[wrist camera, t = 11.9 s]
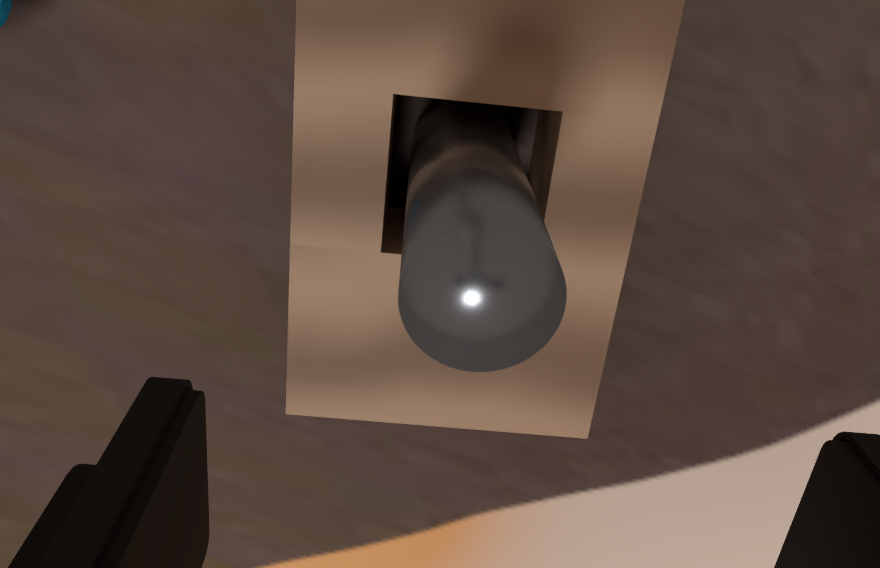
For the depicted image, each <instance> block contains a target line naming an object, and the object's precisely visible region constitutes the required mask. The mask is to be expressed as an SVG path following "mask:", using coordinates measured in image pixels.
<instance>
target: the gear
mask: <svg viewBox="0 0 880 568" xmlns="http://www.w3.org/2000/svg"><path fill="white" fill-rule="evenodd" d="M11 6H12V0H0V27H1V26H2V25H3V24H4V23H5V21H6V19H7V18H8V15H9V13H10V10H11Z"/></svg>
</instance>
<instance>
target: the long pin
mask: <svg viewBox="0 0 880 568" xmlns="http://www.w3.org/2000/svg"><path fill="white" fill-rule="evenodd" d="M566 299H567V287H566V281H565V276H564V273H563V270H562V267H561V265H560V262H559V260H558V257H557V254H556V252H555V249H554V246H553V244H552V241H551V238H550V236H549V233H548V231H547V228H546V225H545V223H544V220H543V217H542V215H541V212H540V210H539V207H538V204H537V202H536V199H535V196H534V194H533V191H532V188H531V186H530V183H529V181H528V178H527V175H526V173H525V170H524V167H523V165H522V162H521V160H520V157H519V154H518V152H517V149H516V146H515V144H514V141H513V138H512V136H511V133H510V131H509V128H508V126H507V124H506V122H505V120H504V118H503V117H502V115H501V114H500V113H499V112H498V111H497V110H496V109H495V108H494V107H492V106H491V105H489V104H485V103H475V102H465V101H456V100H446V99H445V100H443V101H440V102H438V103H437V104H435V105H433V106H432V107H431V108H429V109H428V110H427V111H426V112H425V113H424V115H423V116H422V117H421V118H420V120H419V122H418V123H417V125H416V128H415V130H414V134H413V138H412V147H411V158H410V168H409V179H408V190H407V201H406V212H405V223H404V234H403V245H402V256H401V266H400V277H399V288H398V306H399V313H400V316H401V320H402V323H403V325H404V327H405V329H406V331H407V333H408V335H409V336H410V338H411V339H412V340H413V342H414V343H415V344H416V345H417V346H418V347H419V348H420V349H421V350H422V351H423V352H424V353H425V354H427V355H428V356H429V357H431V358H432V359H434V360H436V361H438V362H439V363H441V364H444V365H446V366H449V367H451V368H455V369H459V370H463V371H470V372H490V371H497V370H502V369H506V368H509V367H512V366H515V365H517V364H519V363H521V362H523V361H525V360H527V359H528V358H530V357H532V356H533V355H534V354H536V353H537V352H538V351H540V350H541V349H542V348H543V347H544V346H545V345H546V344H547V343H548V342H549V340H550V339H551V338H552V337H553V335H554V334H555V332H556V330H557V329H558V327H559V325H560V323H561V320H562V318H563V315H564V311H565V307H566Z"/></svg>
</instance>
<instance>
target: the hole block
mask: <svg viewBox="0 0 880 568" xmlns="http://www.w3.org/2000/svg"><path fill="white" fill-rule="evenodd" d="M684 4H685V0H296V37H295V76H294V115H293V154H292V193H291V232H290V271H289V310H288V348H287V387H286V414H291V415H303V416H315V417H328V418H340V419H352V420H365V421H377V422H389V423H402V424H414V425H426V426H439V427H451V428H463V429H475V430H488V431H500V432H512V433H525V434H537V435H549V436H562V437H574V438H586V439H587V438H588V434H589V429H590V425H591V420H592V416H593V411H594V407H595V402H596V398H597V394H598V389H599V385H600V380H601V376H602V371H603V367H604V362H605V358H606V353H607V349H608V344H609V340H610V335H611V331H612V326H613V322H614V317H615V313H616V308H617V304H618V300H619V295H620V291H621V286H622V282H623V277H624V273H625V268H626V264H627V259H628V255H629V250H630V246H631V241H632V237H633V232H634V228H635V223H636V219H637V214H638V210H639V206H640V201H641V197H642V192H643V188H644V183H645V179H646V174H647V170H648V165H649V161H650V156H651V152H652V147H653V143H654V138H655V134H656V129H657V125H658V120H659V116H660V112H661V107H662V103H663V98H664V94H665V89H666V85H667V80H668V76H669V71H670V67H671V62H672V58H673V53H674V49H675V44H676V40H677V35H678V31H679V26H680V22H681V18H682V13H683V9H684ZM397 94H398V95H407V96H417V97H427V98H436V99H446V100H456V101H465V102H475V103H485V104H494V105H504V106H514V107H523V108H533V109H539V113H538V119H537V126H536V132H535V138H534V145H533V151H532V157H531V164H530V170H529V176H528V181H529V183H530V186H531V188H532V191H533V194H534V196H535V199H536V202H537V204H538V207H539V210H540V212H541V215H542V217H543V220H544V223H545V225H546V228H547V231H548V233H549V236H550V238H551V241H552V244H553V246H554V249H555V252H556V254H557V257H558V260H559V262H560V265H561V267H562V270H563V273H564V276H565V281H566V287H567V299H566V307H565V311H564V315H563V318H562V320H561V323H560V325H559V327H558V329H557V330H556V332H555V334H554V335H553V337H552V338H551V339H550V340H549V342H548V343H547V344H546V345H545V346H544V347H543V348H542V349H541V350H540V351H538V352H537V353H536V354H534V355H533V356H532V357H530V358H528V359H527V360H525V361H523V362H521V363H519V364H517V365H515V366H512V367H509V368H506V369H502V370H497V371H490V372H470V371H463V370H459V369H455V368H451V367H449V366H446V365H444V364H441V363H439V362H438V361H436V360H434V359H432V358H431V357H429V356H428V355H427V354H425V353H424V352H423V351H422V350H421V349H420V348H419V347H418V346H417V345H416V344H415V343H414V342H413V340H412V339H411V338H410V336H409V335H408V333H407V331H406V329H405V327H404V325H403V323H402V320H401V316H400V313H399V306H398V288H399V277H400V266H401V256H402V245H403V234H404V223H405V212H406V208H401V207H390V206H388V199H389V186H390V174H391V161H392V149H393V137H394V124H395V112H396V99H397Z"/></svg>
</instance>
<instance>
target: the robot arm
mask: <svg viewBox="0 0 880 568" xmlns="http://www.w3.org/2000/svg"><path fill="white" fill-rule="evenodd" d="M208 541H209V505H208V474H207V442H206V411H205V395H204V392H203V391H196V390H193V388H192V384H191V381H190V380H184V379H171V378H159V377H150V378H148V380H147V381H146V382H145V384H144V386H143V387H142V389H141V391H140V392H139V394H138V396H137V397H136V399H135V401H134V402H133V404H132V406H131V408H130V409H129V411H128V413H127V414H126V416H125V418H124V419H123V421H122V423H121V424H120V426H119V428H118V429H117V431H116V433H115V434H114V436H113V438H112V440H111V441H110V443H109V445H108V446H107V448H106V450H105V451H104V453H103V455H102V456H101V458H100V460H99V461H98V463H97V465H89V464H78V465H76V466H74V467H73V468H72V469H71V470H70V472H69V473H68V474H67V475H66V477H65V479H64V480H63V482H62V483H61V485H60V486H59V488H58V490H57V491H56V493H55V494H54V496H53V497H52V499H51V501H50V502H49V504H48V505H47V507H46V508H45V510H44V512H43V513H42V515H41V516H40V518H39V519H38V521H37V523H36V524H35V526H34V527H33V529H32V530H31V532H30V534H29V535H28V537H27V538H26V540H25V541H24V543H23V545H22V546H21V548H20V549H19V551H18V552H17V554H16V556H15V557H14V559H13V560H12V562H11V564H10V565H9V567H8V568H201V567H202V564H203V562H204V559H205V555H206V552H207V547H208ZM774 568H880V435H878V434H866V433H854V432H841V433H838V434H837V435H836V436H835V437H834V438H833V440H829V441H826V442H825V443H824V444H823V446H822V448H821V450H820V453H819V456H818V458H817V460H816V463H815V466H814V468H813V471H812V473H811V476H810V479H809V481H808V483H807V486H806V488H805V491H804V493H803V496H802V498H801V501H800V504H799V506H798V509H797V511H796V514H795V516H794V519H793V521H792V524H791V526H790V529H789V531H788V534H787V536H786V539H785V542H784V544H783V547H782V549H781V552H780V554H779V557H778V559H777V562H776V565H775V567H774Z"/></svg>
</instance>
